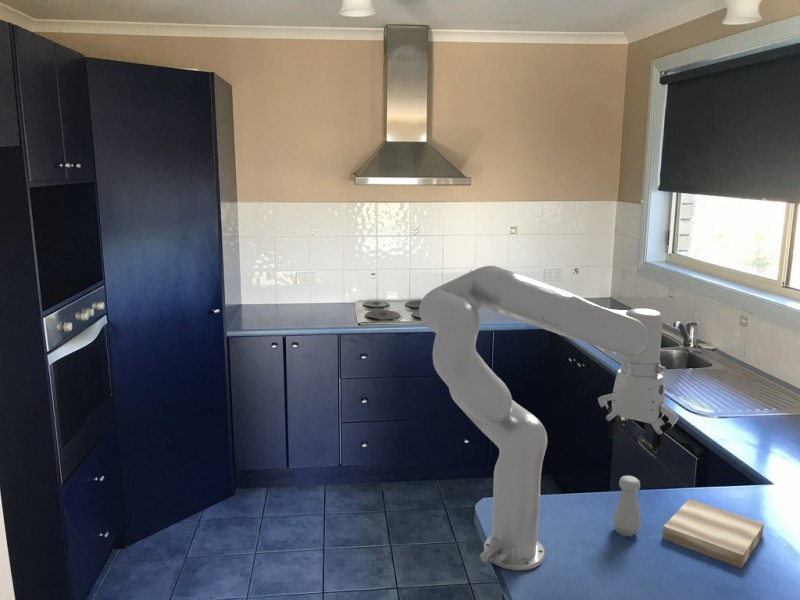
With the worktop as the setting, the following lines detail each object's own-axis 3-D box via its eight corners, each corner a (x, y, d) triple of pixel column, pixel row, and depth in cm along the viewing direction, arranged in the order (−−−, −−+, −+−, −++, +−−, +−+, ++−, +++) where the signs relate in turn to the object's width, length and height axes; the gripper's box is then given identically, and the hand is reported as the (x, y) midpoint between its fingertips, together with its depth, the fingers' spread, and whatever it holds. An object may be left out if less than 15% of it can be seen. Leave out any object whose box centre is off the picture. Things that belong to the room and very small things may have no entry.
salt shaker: (633, 524, 148) (638, 472, 145) (643, 539, 142) (648, 484, 140) (608, 525, 148) (612, 472, 145) (617, 539, 142) (621, 484, 139)
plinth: (741, 568, 132) (743, 555, 131) (662, 538, 142) (663, 525, 142) (762, 535, 143) (764, 523, 143) (687, 510, 154) (689, 498, 153)
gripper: (688, 371, 134) (681, 448, 138) (608, 355, 145) (604, 427, 149) (675, 380, 129) (668, 460, 132) (593, 363, 140) (589, 437, 144)
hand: (634, 442), depth 141 cm, fingers open, 9 cm apart
